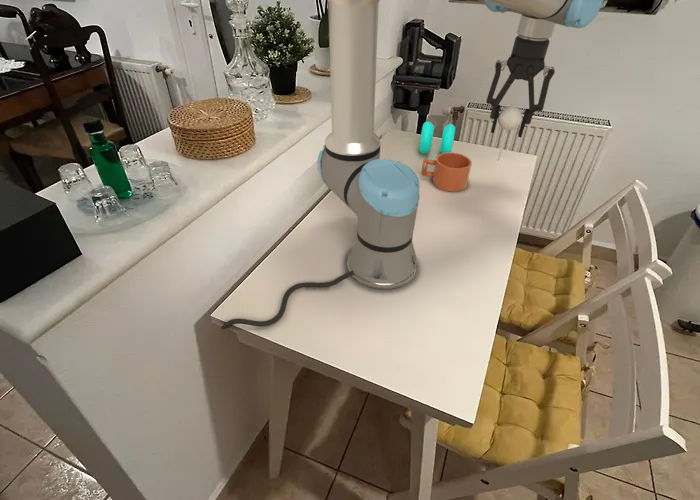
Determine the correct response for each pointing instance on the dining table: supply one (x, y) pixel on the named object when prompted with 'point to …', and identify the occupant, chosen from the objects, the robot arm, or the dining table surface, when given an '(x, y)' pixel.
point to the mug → (449, 171)
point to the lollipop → (509, 121)
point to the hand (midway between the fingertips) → (506, 132)
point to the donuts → (428, 136)
